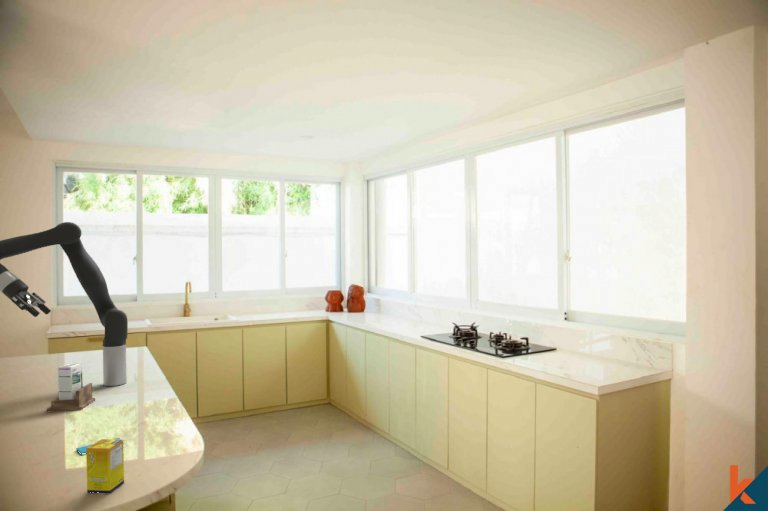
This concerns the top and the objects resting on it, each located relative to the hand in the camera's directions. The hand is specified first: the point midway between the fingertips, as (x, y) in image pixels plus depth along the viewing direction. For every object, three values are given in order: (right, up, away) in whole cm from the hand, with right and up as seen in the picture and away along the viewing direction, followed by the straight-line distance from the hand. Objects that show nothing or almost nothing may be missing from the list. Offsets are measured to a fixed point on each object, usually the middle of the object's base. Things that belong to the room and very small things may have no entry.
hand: (43, 314), depth 199 cm
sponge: (+49, -34, -48) cm, 77 cm away
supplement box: (+65, -34, -75) cm, 105 cm away
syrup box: (+14, -33, -5) cm, 36 cm away
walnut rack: (+14, -34, -5) cm, 38 cm away
